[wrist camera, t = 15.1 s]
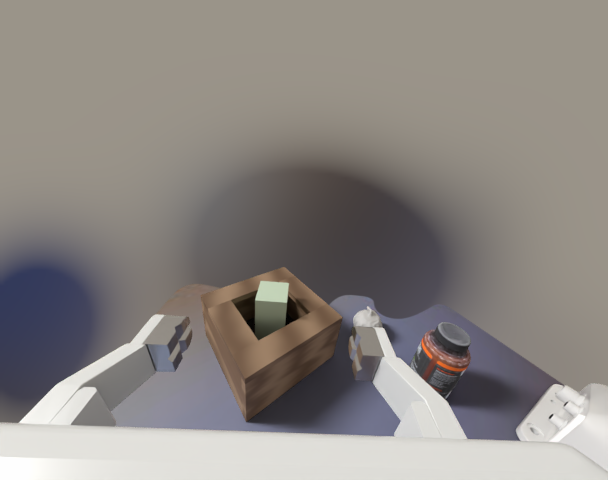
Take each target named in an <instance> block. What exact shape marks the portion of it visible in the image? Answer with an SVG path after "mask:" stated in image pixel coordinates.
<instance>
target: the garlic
mask: <svg viewBox="0 0 608 480" xmlns="http://www.w3.org/2000/svg"><path fill="white" fill-rule="evenodd" d="M367 309H368V310H363V311H359V312H358V313H357V314H356V315H355V316H354V318H353V323H354V326H360V327H379V328H382V322H381V320H380V317H379V316H378V315H377V314H376V313H375V312H374V311H373V310H371V309H370V308H369V307H367Z"/></svg>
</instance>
